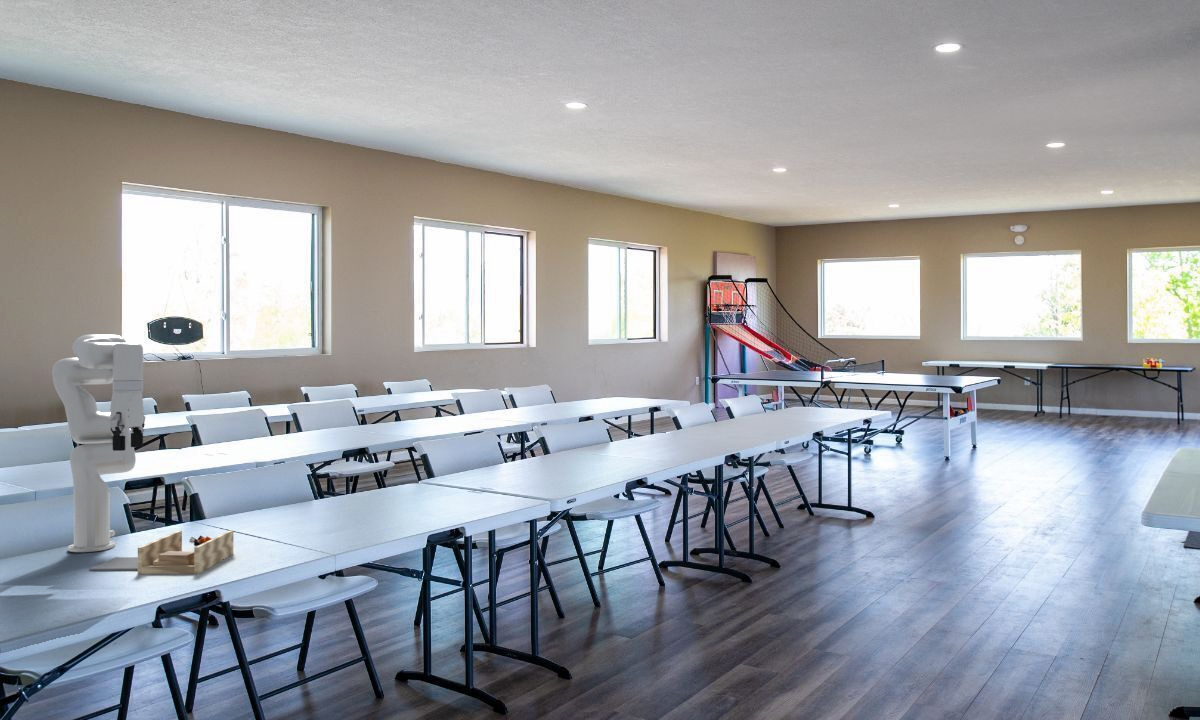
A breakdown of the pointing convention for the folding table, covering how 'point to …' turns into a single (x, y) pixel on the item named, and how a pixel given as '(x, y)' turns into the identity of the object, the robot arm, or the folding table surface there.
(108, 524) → the robot arm
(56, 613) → the folding table surface
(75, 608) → the folding table surface
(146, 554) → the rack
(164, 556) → the offcuts
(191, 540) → the toy
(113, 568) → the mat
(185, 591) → the folding table surface
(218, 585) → the folding table surface
